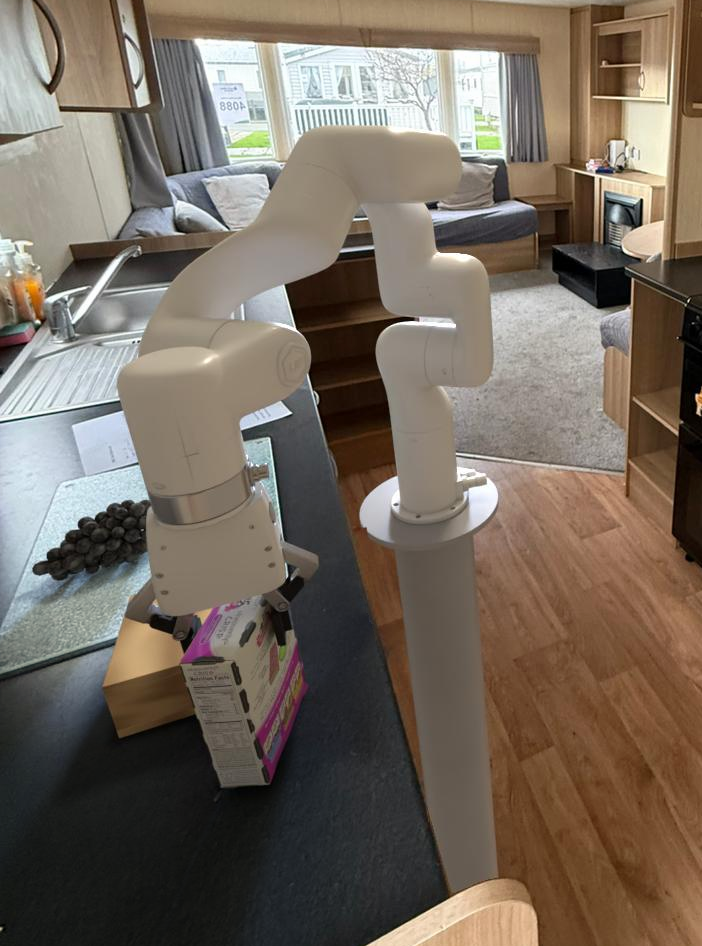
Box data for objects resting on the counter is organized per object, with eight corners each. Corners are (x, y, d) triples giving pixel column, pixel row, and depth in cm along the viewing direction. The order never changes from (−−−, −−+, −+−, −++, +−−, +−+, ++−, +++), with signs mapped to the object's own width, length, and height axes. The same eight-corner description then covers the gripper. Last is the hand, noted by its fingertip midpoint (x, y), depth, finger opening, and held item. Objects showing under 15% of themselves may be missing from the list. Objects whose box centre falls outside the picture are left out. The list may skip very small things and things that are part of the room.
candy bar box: (262, 689, 72) (233, 570, 66) (309, 686, 72) (284, 568, 66) (215, 792, 61) (175, 662, 55) (270, 788, 62) (236, 658, 56)
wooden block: (263, 609, 84) (253, 564, 81) (259, 694, 72) (248, 645, 69) (144, 641, 79) (130, 595, 76) (119, 738, 67) (101, 687, 64)
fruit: (15, 539, 82) (154, 495, 91) (24, 526, 89) (153, 486, 98) (36, 602, 83) (172, 552, 92) (43, 585, 90) (169, 540, 99)
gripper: (309, 447, 62) (336, 594, 69) (91, 490, 56) (144, 649, 62) (312, 488, 56) (342, 646, 62) (66, 542, 49) (128, 713, 56)
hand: (243, 646), depth 62 cm, fingers closed on candy bar box, 6 cm apart
